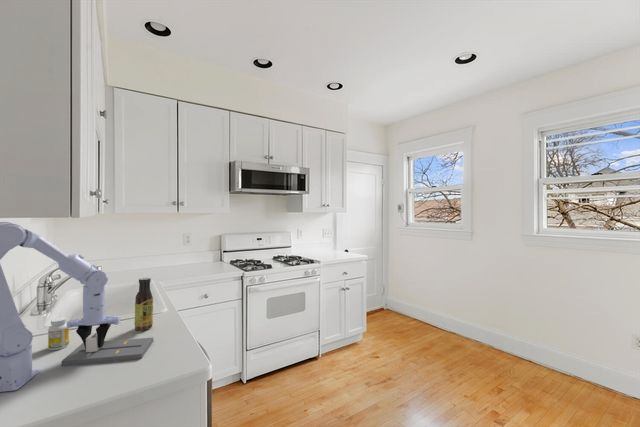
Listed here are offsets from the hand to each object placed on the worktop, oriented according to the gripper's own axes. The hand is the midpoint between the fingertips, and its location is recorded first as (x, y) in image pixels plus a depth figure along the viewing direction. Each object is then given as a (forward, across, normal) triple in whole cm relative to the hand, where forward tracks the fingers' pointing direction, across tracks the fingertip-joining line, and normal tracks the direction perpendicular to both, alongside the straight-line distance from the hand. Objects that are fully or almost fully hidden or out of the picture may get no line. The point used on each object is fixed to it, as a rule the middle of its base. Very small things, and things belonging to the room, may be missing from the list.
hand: (94, 347), depth 98 cm
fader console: (+2, -5, 0) cm, 5 cm away
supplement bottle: (+3, +14, -8) cm, 17 cm away
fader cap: (+1, 0, 0) cm, 1 cm away
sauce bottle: (+3, -9, -19) cm, 21 cm away
